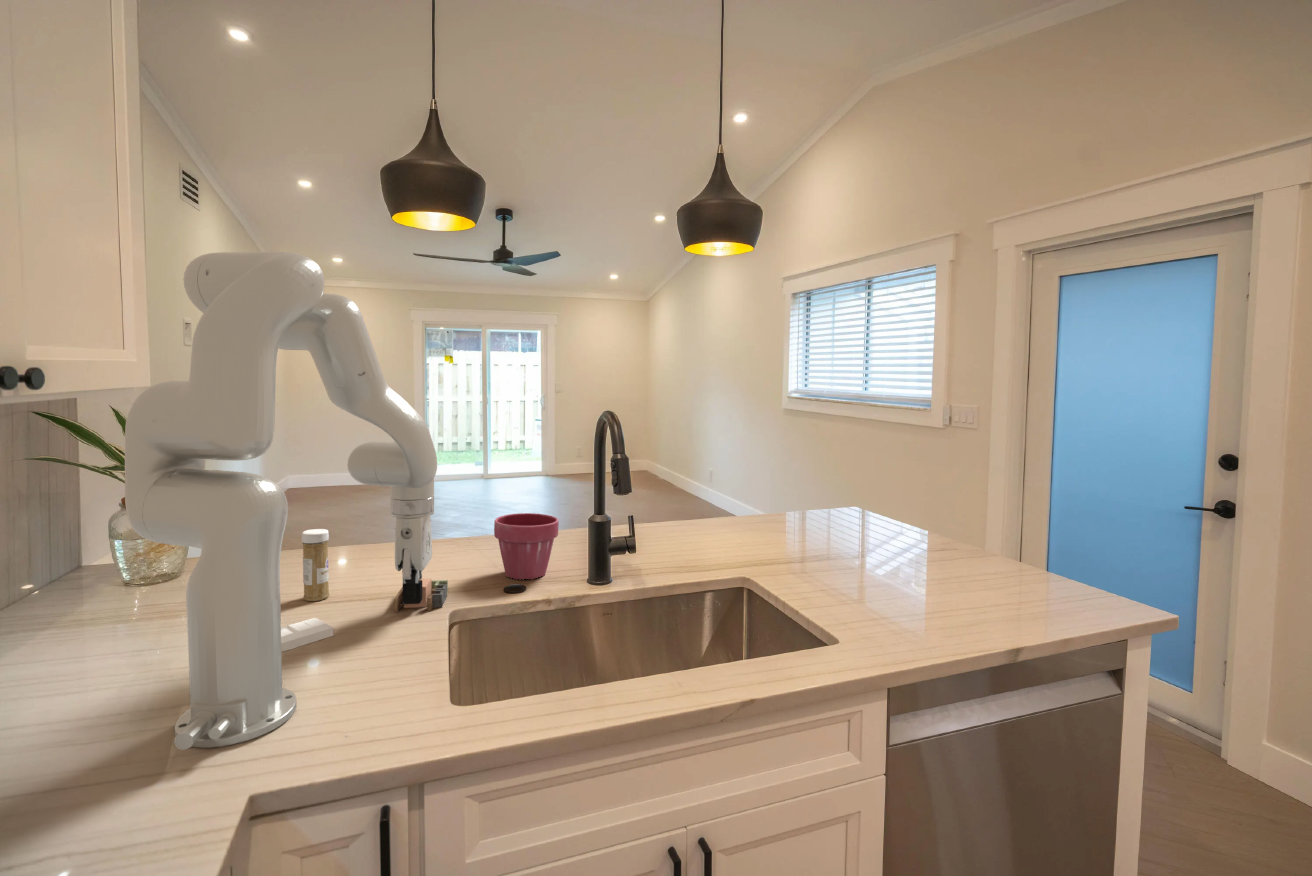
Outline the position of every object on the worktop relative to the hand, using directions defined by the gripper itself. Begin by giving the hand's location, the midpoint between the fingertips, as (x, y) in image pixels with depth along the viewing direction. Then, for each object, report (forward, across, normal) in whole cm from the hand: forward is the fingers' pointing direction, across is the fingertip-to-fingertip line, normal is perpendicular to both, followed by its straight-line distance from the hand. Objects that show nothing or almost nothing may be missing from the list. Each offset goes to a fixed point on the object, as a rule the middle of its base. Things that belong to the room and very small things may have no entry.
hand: (412, 602), depth 113 cm
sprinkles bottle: (+2, +9, +20) cm, 22 cm away
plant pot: (+2, +21, -20) cm, 29 cm away
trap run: (+2, +5, 0) cm, 5 cm away
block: (+2, +4, 0) cm, 5 cm away
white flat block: (+2, -11, +16) cm, 19 cm away
